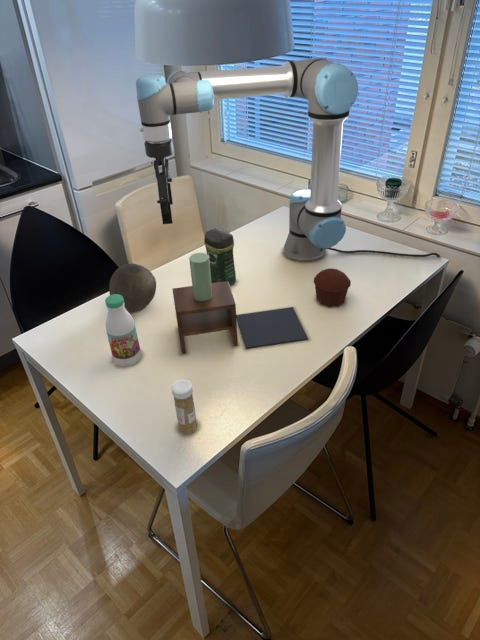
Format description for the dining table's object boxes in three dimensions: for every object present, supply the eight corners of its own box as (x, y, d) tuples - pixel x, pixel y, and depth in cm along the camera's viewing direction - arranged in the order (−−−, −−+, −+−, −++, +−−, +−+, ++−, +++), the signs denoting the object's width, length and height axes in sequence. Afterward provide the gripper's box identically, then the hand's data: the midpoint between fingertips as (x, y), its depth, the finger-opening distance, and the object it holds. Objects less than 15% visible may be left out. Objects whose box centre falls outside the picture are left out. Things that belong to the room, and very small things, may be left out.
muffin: (356, 300, 156) (359, 273, 150) (332, 314, 150) (334, 286, 144) (328, 285, 163) (330, 259, 157) (304, 298, 158) (306, 271, 152)
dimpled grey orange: (133, 327, 149) (124, 285, 140) (105, 310, 156) (95, 269, 148) (168, 306, 157) (161, 265, 148) (139, 291, 165) (131, 251, 156)
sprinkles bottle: (200, 431, 115) (194, 389, 107) (181, 437, 114) (174, 395, 106) (194, 417, 118) (188, 376, 110) (176, 423, 117) (169, 381, 109)
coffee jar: (240, 282, 167) (238, 232, 156) (222, 291, 163) (219, 241, 152) (221, 272, 173) (218, 223, 162) (204, 281, 169) (199, 231, 158)
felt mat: (292, 308, 153) (292, 306, 153) (307, 339, 141) (308, 338, 140) (236, 316, 151) (235, 315, 151) (246, 349, 138) (246, 347, 138)
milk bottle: (110, 355, 139) (94, 295, 127) (136, 345, 142) (123, 287, 130) (118, 370, 133) (103, 310, 121) (145, 360, 136) (133, 300, 124)
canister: (211, 289, 137) (207, 251, 130) (213, 299, 133) (210, 261, 126) (192, 292, 137) (188, 254, 130) (194, 302, 133) (190, 263, 125)
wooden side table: (230, 321, 149) (228, 280, 141) (237, 345, 140) (235, 304, 131) (178, 328, 147) (172, 288, 139) (181, 354, 138) (175, 312, 129)
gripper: (146, 128, 142) (156, 198, 155) (141, 155, 122) (153, 233, 135) (172, 126, 143) (180, 196, 155) (171, 153, 122) (181, 231, 135)
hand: (168, 213), depth 145 cm, fingers open, 13 cm apart
